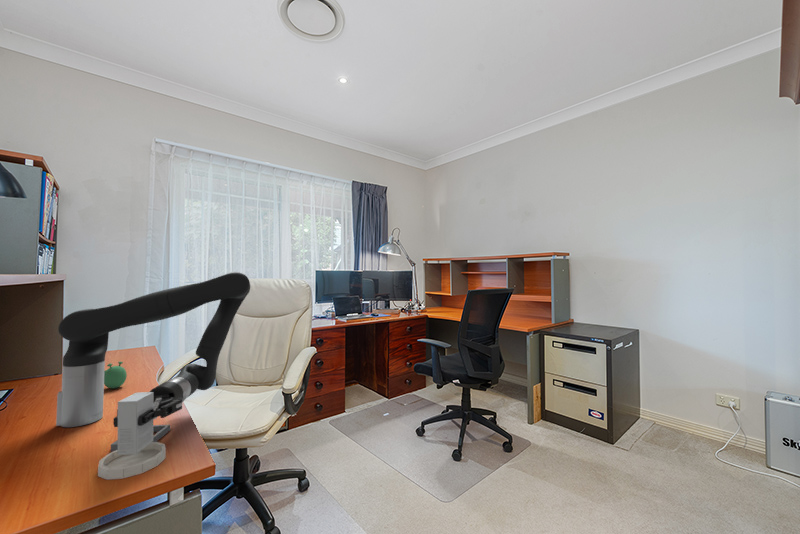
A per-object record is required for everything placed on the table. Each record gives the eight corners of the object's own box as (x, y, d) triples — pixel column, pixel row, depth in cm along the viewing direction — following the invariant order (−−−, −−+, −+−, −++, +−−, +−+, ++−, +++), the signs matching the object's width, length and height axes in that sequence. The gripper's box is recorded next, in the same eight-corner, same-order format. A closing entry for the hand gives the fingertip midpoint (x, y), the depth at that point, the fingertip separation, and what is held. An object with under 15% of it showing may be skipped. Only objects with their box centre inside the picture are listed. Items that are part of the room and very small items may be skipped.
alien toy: (114, 384, 134) (115, 359, 134) (130, 385, 132) (131, 360, 133) (95, 390, 127) (97, 363, 127) (113, 391, 125) (114, 364, 126)
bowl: (83, 481, 70) (83, 471, 70) (122, 451, 82) (122, 443, 82) (145, 476, 72) (146, 467, 72) (175, 448, 84) (175, 440, 84)
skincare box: (135, 442, 80) (136, 392, 80) (153, 441, 80) (154, 391, 81) (115, 455, 74) (116, 401, 74) (136, 454, 74) (137, 401, 75)
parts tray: (110, 451, 82) (110, 444, 82) (137, 431, 93) (137, 426, 93) (147, 448, 84) (147, 442, 84) (170, 430, 94) (170, 424, 94)
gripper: (141, 382, 91) (92, 407, 74) (197, 380, 93) (162, 403, 76) (140, 410, 90) (92, 441, 74) (197, 407, 92) (162, 436, 76)
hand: (128, 422), depth 75 cm, fingers closed on skincare box, 4 cm apart
